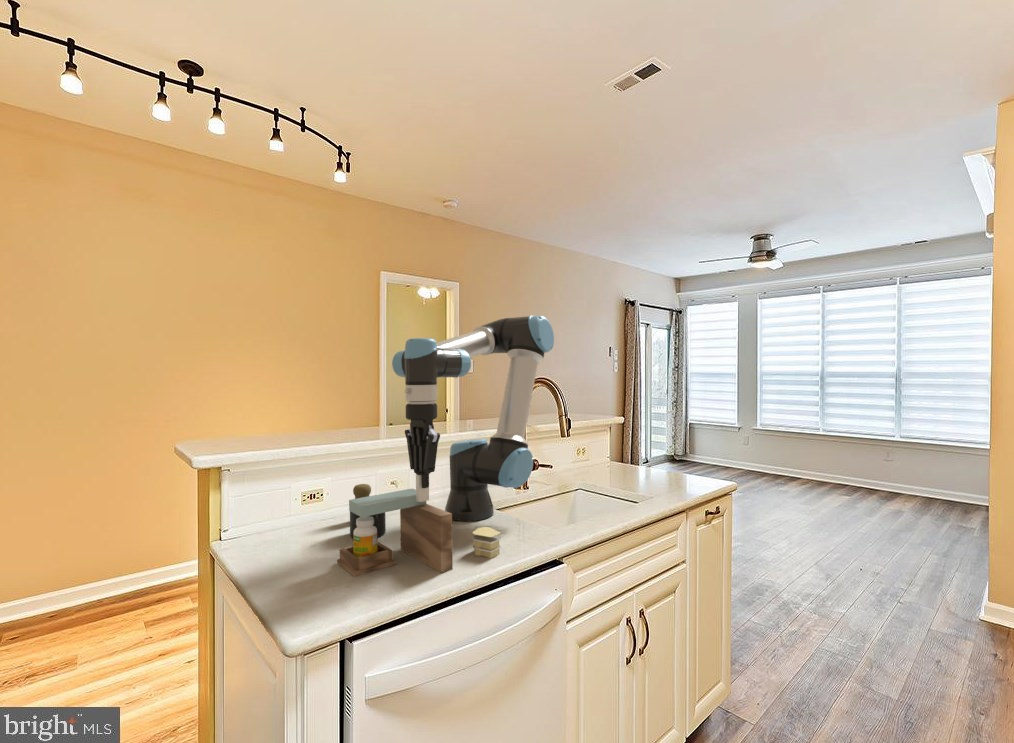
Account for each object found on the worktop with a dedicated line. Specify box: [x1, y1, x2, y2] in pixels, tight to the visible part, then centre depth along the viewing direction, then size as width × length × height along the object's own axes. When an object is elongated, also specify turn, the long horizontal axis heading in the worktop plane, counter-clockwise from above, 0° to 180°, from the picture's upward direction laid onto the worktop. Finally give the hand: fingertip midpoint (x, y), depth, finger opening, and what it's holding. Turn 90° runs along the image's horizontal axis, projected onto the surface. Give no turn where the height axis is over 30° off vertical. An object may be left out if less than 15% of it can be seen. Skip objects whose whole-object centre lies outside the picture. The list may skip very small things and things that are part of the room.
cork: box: [352, 483, 372, 499], centre depth 147 cm, size 6×6×11 cm
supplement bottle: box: [352, 516, 378, 558], centre depth 114 cm, size 5×5×10 cm
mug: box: [349, 511, 387, 539], centre depth 133 cm, size 9×12×9 cm
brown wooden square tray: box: [336, 540, 397, 577], centre depth 114 cm, size 10×10×3 cm
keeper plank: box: [348, 488, 427, 517], centre depth 116 cm, size 16×7×2 cm, turn 130°
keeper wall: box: [399, 503, 454, 573], centre depth 116 cm, size 3×19×12 cm, turn 40°
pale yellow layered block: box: [472, 526, 502, 559], centre depth 120 cm, size 10×9×6 cm
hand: (422, 500), depth 117 cm, fingers closed
